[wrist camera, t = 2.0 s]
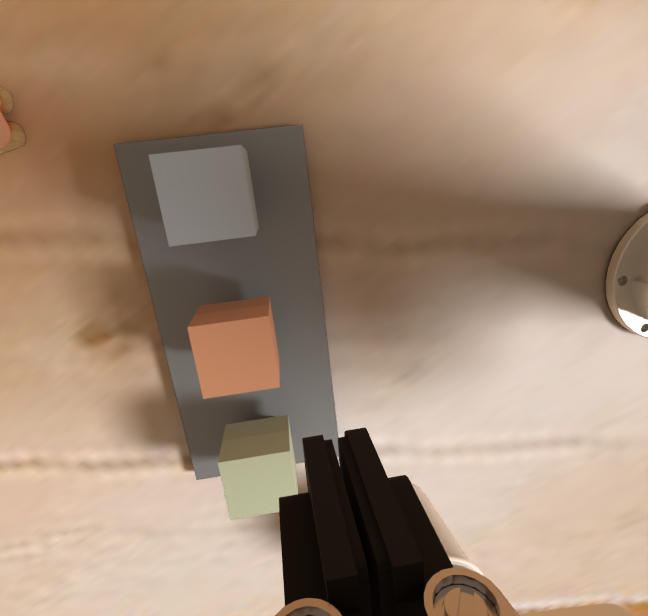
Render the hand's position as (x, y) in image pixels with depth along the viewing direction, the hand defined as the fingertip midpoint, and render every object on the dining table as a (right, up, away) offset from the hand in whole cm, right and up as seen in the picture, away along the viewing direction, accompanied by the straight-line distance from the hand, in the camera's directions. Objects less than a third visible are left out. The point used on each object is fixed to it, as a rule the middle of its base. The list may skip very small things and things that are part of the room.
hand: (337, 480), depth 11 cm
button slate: (-8, +12, +17) cm, 22 cm away
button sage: (-5, -7, +23) cm, 25 cm away
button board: (-7, +4, +23) cm, 25 cm away
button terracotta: (-6, +3, +20) cm, 21 cm away
